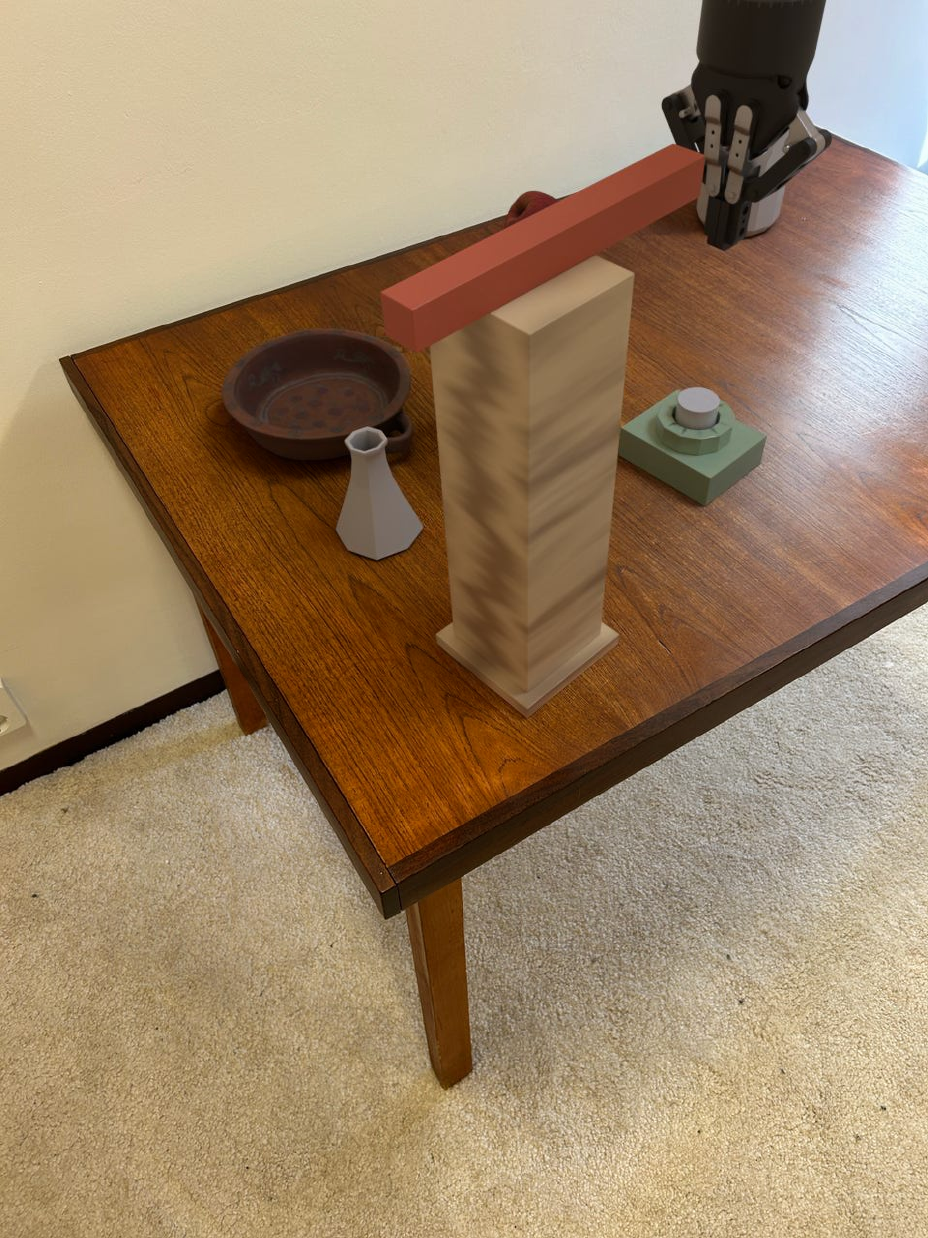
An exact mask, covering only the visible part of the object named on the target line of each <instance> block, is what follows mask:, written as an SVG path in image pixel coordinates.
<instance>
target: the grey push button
mask: <svg viewBox="0 0 928 1238" xmlns="http://www.w3.org/2000/svg"><path fill="white" fill-rule="evenodd" d="M681 391H682V392H680V394H679V395H678V398H677V405H676V412H675V421H676V422H677V424H678V425H680V426H682V427H684V428H686V429H692V430H705V429H710V428H711V427H713V426H714V425H715V423H716V420H717V415H718V409H719V404H720V400H721V399H720V397H719V395H718V393H716V392H715V391H713V390H712V389H709V388H705V387H701V386H693V387H688V388H685V389H683V390H681Z"/></svg>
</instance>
